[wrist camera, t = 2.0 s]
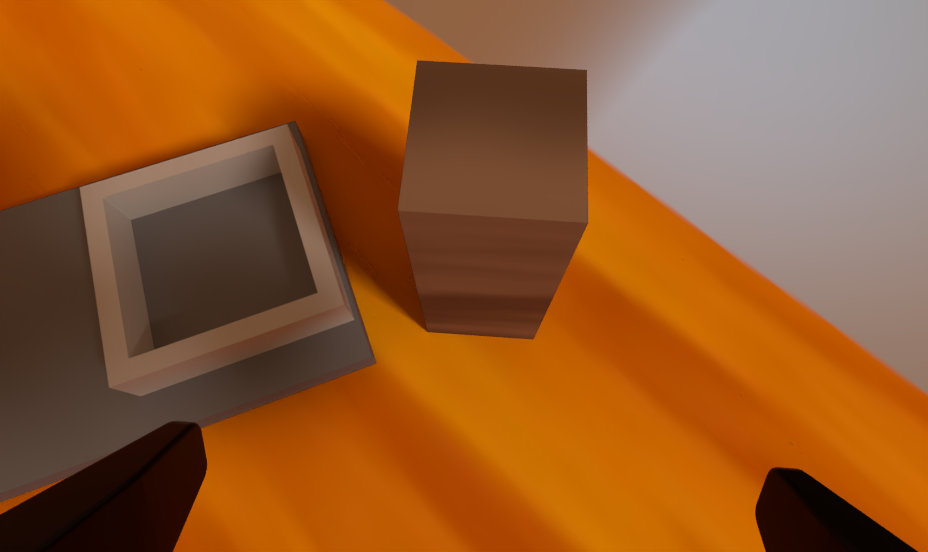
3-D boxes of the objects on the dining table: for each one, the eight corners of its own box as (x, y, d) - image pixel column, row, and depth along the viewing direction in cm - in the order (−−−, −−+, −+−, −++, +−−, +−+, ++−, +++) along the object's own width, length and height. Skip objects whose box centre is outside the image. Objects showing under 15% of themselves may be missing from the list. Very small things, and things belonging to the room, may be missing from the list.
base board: (-198, 575, 20) (-361, 597, 16) (-185, 286, 24) (-312, 248, 20) (376, 363, 23) (357, 337, 19) (302, 136, 27) (274, 76, 23)
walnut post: (533, 339, 23) (588, 223, 13) (427, 331, 23) (397, 210, 13) (536, 242, 25) (586, 70, 14) (436, 235, 25) (417, 60, 15)
